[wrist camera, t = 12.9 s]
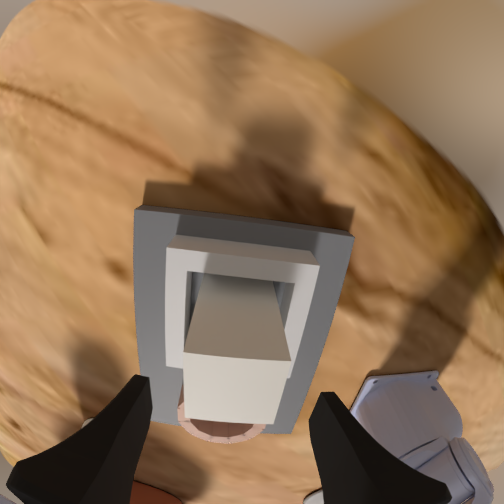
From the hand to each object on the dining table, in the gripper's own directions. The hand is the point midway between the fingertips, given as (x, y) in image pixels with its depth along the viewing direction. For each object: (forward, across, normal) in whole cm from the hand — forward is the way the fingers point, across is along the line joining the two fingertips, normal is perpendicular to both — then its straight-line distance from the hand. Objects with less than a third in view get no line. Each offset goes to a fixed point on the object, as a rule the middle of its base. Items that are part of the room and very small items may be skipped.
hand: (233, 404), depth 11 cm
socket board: (+10, 0, +4) cm, 11 cm away
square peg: (+9, 0, 0) cm, 9 cm away
